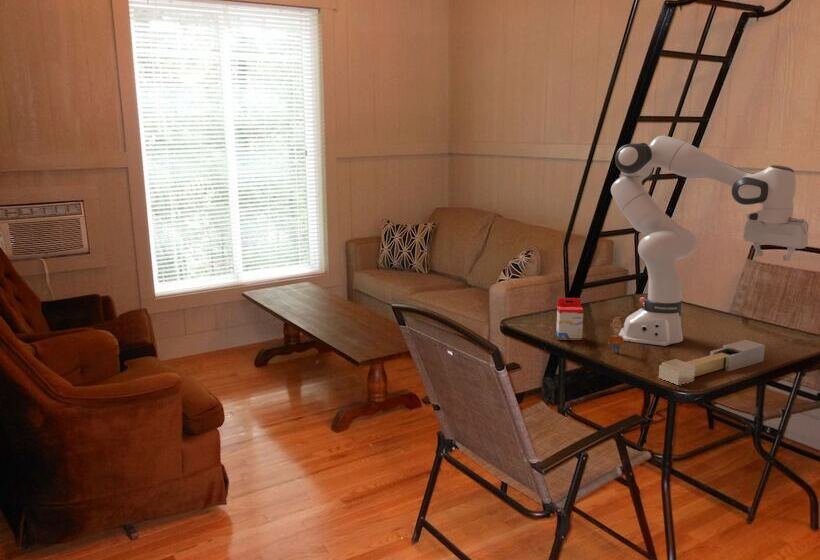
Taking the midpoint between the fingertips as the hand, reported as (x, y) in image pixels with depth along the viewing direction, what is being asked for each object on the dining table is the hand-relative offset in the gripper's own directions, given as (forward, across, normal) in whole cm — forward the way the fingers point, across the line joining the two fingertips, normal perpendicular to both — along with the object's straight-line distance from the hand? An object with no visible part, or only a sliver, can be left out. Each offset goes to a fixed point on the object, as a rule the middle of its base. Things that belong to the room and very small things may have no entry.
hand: (772, 258), depth 220 cm
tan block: (+31, -4, +37) cm, 48 cm away
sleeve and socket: (+31, -4, +32) cm, 45 cm away
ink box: (+31, +43, +47) cm, 71 cm away
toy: (+31, +24, +44) cm, 59 cm away
